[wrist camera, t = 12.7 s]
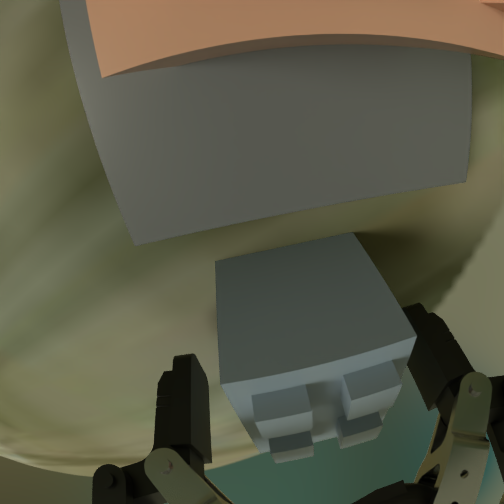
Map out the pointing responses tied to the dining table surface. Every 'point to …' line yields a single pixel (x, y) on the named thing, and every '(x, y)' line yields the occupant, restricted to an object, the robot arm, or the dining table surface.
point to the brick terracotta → (282, 28)
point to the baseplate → (271, 129)
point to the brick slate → (309, 344)
